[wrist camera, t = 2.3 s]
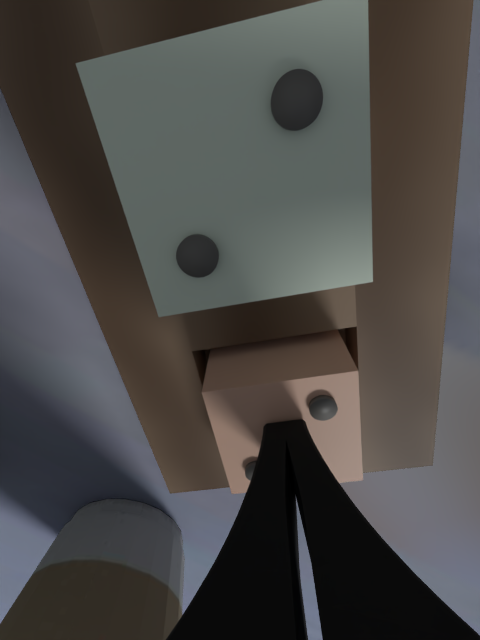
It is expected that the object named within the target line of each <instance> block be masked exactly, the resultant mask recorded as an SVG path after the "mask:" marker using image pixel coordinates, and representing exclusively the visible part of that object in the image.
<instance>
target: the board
mask: <svg viewBox="0 0 480 640" xmlns="http://www.w3.org/2000/svg"><path fill="white" fill-rule="evenodd" d="M317 1H321V0H0V88H1V91H2V93H3V95H4V98H5V100H6V103H7V105H8V107H9V110H10V112H11V115H12V117H13V119H14V122H15V124H16V126H17V129H18V131H19V134H20V136H21V138H22V141H23V143H24V146H25V148H26V150H27V153H28V155H29V158H30V160H31V162H32V165H33V167H34V169H35V172H36V174H37V177H38V179H39V181H40V184H41V186H42V189H43V191H44V193H45V196H46V198H47V201H48V203H49V205H50V208H51V210H52V212H53V215H54V217H55V220H56V222H57V224H58V227H59V229H60V232H61V234H62V236H63V239H64V241H65V244H66V246H67V248H68V251H69V253H70V255H71V258H72V260H73V263H74V265H75V267H76V270H77V272H78V275H79V277H80V279H81V282H82V284H83V286H84V289H85V291H86V294H87V296H88V298H89V301H90V303H91V306H92V308H93V310H94V313H95V315H96V318H97V320H98V322H99V325H100V327H101V329H102V332H103V334H104V337H105V339H106V341H107V344H108V346H109V349H110V351H111V353H112V356H113V358H114V361H115V363H116V365H117V368H118V370H119V372H120V375H121V377H122V380H123V382H124V384H125V387H126V389H127V392H128V394H129V396H130V399H131V401H132V404H133V406H134V408H135V411H136V413H137V415H138V418H139V420H140V423H141V425H142V427H143V430H144V432H145V435H146V437H147V439H148V442H149V444H150V447H151V449H152V451H153V454H154V456H155V458H156V461H157V463H158V466H159V468H160V470H161V473H162V475H163V478H164V480H165V482H166V485H167V487H168V490H169V492H170V493H179V492H188V491H198V490H207V489H217V488H226V487H230V486H229V482H228V479H227V476H226V472H225V469H224V466H223V462H222V459H221V456H220V452H219V449H218V446H217V442H216V439H215V436H214V432H213V429H212V426H211V422H210V419H209V416H208V412H207V409H206V406H205V402H204V399H203V395H202V388H203V383H204V378H205V373H206V368H207V363H208V358H209V354H210V349H211V348H218V347H224V346H231V345H238V344H244V343H251V342H257V341H264V340H270V339H277V338H284V337H290V336H297V335H303V334H310V333H317V332H323V331H330V330H336V329H337V330H338V332H339V334H340V336H341V338H342V339H343V341H344V343H345V345H346V347H347V349H348V351H349V353H350V355H351V357H352V359H353V361H354V363H355V365H356V367H357V369H358V373H359V397H360V421H361V444H362V468H363V473H367V472H376V471H386V470H394V469H405V468H413V467H423V466H432V465H433V456H434V445H435V434H436V422H437V411H438V399H439V388H440V376H441V365H442V354H443V342H444V331H445V319H446V308H447V296H448V285H449V273H450V262H451V250H452V239H453V228H454V216H455V205H456V193H457V182H458V170H459V159H460V147H461V136H462V124H463V113H464V102H465V90H466V79H467V67H468V56H469V44H470V33H471V21H472V10H473V0H368V24H369V82H370V140H371V198H372V256H373V282H369V283H363V284H357V285H351V286H345V287H339V288H333V289H327V290H321V291H315V292H309V293H303V294H297V295H291V296H284V297H278V298H272V299H266V300H260V301H254V302H248V303H242V304H236V305H230V306H224V307H218V308H212V309H206V310H200V311H193V312H187V313H181V314H175V315H169V316H163V317H159V316H158V313H157V310H156V307H155V304H154V301H153V298H152V295H151V292H150V289H149V286H148V283H147V280H146V277H145V274H144V271H143V268H142V265H141V262H140V259H139V255H138V252H137V249H136V246H135V243H134V240H133V237H132V234H131V231H130V228H129V225H128V222H127V219H126V216H125V213H124V210H123V207H122V204H121V201H120V198H119V195H118V192H117V188H116V185H115V182H114V179H113V176H112V173H111V170H110V167H109V164H108V161H107V158H106V155H105V152H104V149H103V146H102V143H101V140H100V137H99V134H98V131H97V128H96V124H95V121H94V118H93V115H92V112H91V109H90V106H89V103H88V100H87V97H86V94H85V91H84V88H83V85H82V82H81V79H80V76H79V73H78V70H77V67H76V64H75V63H79V62H83V61H86V60H90V59H94V58H98V57H102V56H106V55H110V54H114V53H118V52H122V51H126V50H130V49H133V48H137V47H141V46H145V45H149V44H153V43H157V42H161V41H165V40H169V39H173V38H177V37H180V36H184V35H188V34H192V33H196V32H200V31H204V30H208V29H212V28H216V27H220V26H223V25H227V24H231V23H235V22H239V21H243V20H247V19H251V18H255V17H259V16H263V15H267V14H270V13H274V12H278V11H282V10H286V9H290V8H294V7H298V6H302V5H306V4H310V3H314V2H317Z"/></svg>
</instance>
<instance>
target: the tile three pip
mask: <svg viewBox="0 0 480 640" xmlns="http://www.w3.org/2000/svg"><path fill="white" fill-rule="evenodd" d="M202 395H203V399H204V402H205V406H206V409H207V412H208V416H209V419H210V422H211V426H212V429H213V432H214V436H215V439H216V442H217V446H218V449H219V452H220V456H221V459H222V462H223V466H224V469H225V472H226V476H227V479H228V482H229V486H230V489H231V493H232V494H237V493H246V492H247V489H248V487H249V484H250V481H251V478H252V475H253V472H254V468H255V465H256V462H257V458H258V454H259V450H260V446H261V441H262V436H263V427H264V426H265V424H267V423H275V422H283V421H291V420H299V419H302V420H304V421H305V422H306V425H307V428H308V430H309V433H310V435H311V437H312V439H313V441H314V443H315V445H316V447H317V449H318V450H319V452H320V454H321V456H322V457H323V459H324V461H325V462H326V464H327V465H328V467H329V469H330V470H331V472H332V473H333V475H334V476H335V478H336V479H337V481H338V482H339V483H343V482H352V481H362V480H363V468H362V444H361V421H360V397H359V373H358V369H357V367H356V365H355V363H354V361H353V359H352V357H351V355H350V353H349V351H348V349H347V347H346V345H345V343H344V341H343V339H342V338H341V336H340V334H339V332H338V330H337V329H336V330H330V331H323V332H317V333H310V334H303V335H297V336H290V337H284V338H277V339H270V340H264V341H257V342H251V343H244V344H238V345H231V346H224V347H218V348H211V349H210V354H209V358H208V363H207V368H206V373H205V378H204V383H203V388H202Z"/></svg>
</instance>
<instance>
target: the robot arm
mask: <svg viewBox="0 0 480 640" xmlns="http://www.w3.org/2000/svg"><path fill="white" fill-rule="evenodd" d="M296 498H297V502H298V507H299V511H300V515H301V520H302V524H303V528H304V533H305V537H306V541H307V546H308V550H309V554H310V559H311V563H312V570H313V576H314V583H315V590H316V596H317V603H318V610H319V616H320V623H321V630H322V637H323V640H480V636H479V635H478V633H477V632H475V631H474V630H473V629H472V628H471V627H470V626H469V625H468V624H467V623H466V622H465V621H463V620H462V619H461V618H460V617H459V616H458V615H457V614H456V613H455V612H454V611H453V610H452V609H451V608H449V607H448V606H447V605H446V604H445V603H444V602H443V601H442V600H441V599H440V598H439V597H438V596H437V595H436V594H435V593H434V592H433V591H432V590H431V589H430V588H429V587H428V586H427V585H426V584H425V583H424V582H423V581H422V580H421V579H420V578H419V577H418V576H417V575H416V574H415V573H414V572H413V571H412V570H411V569H410V568H409V567H408V566H407V565H406V564H405V563H404V561H403V560H402V559H401V558H400V557H399V556H398V555H397V554H396V553H395V552H394V551H393V550H392V549H391V548H390V546H389V545H388V544H387V543H386V542H385V541H384V540H383V539H382V538H381V536H380V535H379V534H378V533H377V532H376V530H375V529H374V528H373V527H372V526H371V525H370V523H369V522H368V521H367V520H366V518H365V517H364V516H363V515H362V513H361V512H360V511H359V510H358V508H357V507H356V506H355V505H354V503H353V502H352V501H351V499H350V498H349V497H348V495H347V494H346V492H345V491H344V490H343V488H342V487H341V485H340V484H339V482H338V481H337V479H336V478H335V476H334V475H333V473H332V472H331V470H330V469H329V467H328V465H327V464H326V462H325V461H324V459H323V457H322V456H321V454H320V452H319V450H318V449H317V447H316V445H315V443H314V441H313V439H312V437H311V435H310V433H309V430H308V428H307V425H306V422H305V421H304V420H302V419H299V420H291V421H283V422H275V423H267V424H265V426H264V427H263V436H262V441H261V446H260V450H259V454H258V458H257V462H256V465H255V468H254V472H253V475H252V478H251V481H250V484H249V487H248V489H247V492H246V495H245V497H244V500H243V503H242V505H241V508H240V510H239V513H238V515H237V517H236V520H235V522H234V524H233V526H232V528H231V530H230V533H229V535H228V537H227V539H226V541H225V543H224V545H223V547H222V549H221V551H220V553H219V555H218V557H217V558H216V560H215V562H214V564H213V566H212V568H211V569H210V571H209V573H208V575H207V576H206V578H205V580H204V581H203V583H202V585H201V586H200V588H199V590H198V591H197V593H196V595H195V596H194V598H193V600H192V601H191V603H190V604H189V606H188V608H187V609H186V611H185V612H184V614H183V615H182V617H181V618H180V620H179V621H178V623H177V624H176V625H175V627H174V628H173V630H172V631H171V633H170V634H169V636H168V637H167V639H166V640H308V636H307V628H306V621H305V613H304V605H303V597H302V589H301V580H300V569H299V551H298V531H297V512H296Z"/></svg>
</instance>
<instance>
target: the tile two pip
mask: <svg viewBox="0 0 480 640" xmlns="http://www.w3.org/2000/svg"><path fill="white" fill-rule="evenodd" d="M75 64H76V67H77V70H78V73H79V76H80V79H81V82H82V85H83V88H84V91H85V94H86V97H87V100H88V103H89V106H90V109H91V112H92V115H93V118H94V121H95V124H96V128H97V131H98V134H99V137H100V140H101V143H102V146H103V149H104V152H105V155H106V158H107V161H108V164H109V167H110V170H111V173H112V176H113V179H114V182H115V185H116V188H117V192H118V195H119V198H120V201H121V204H122V207H123V210H124V213H125V216H126V219H127V222H128V225H129V228H130V231H131V234H132V237H133V240H134V243H135V246H136V249H137V252H138V255H139V259H140V262H141V265H142V268H143V271H144V274H145V277H146V280H147V283H148V286H149V289H150V292H151V295H152V298H153V301H154V304H155V307H156V310H157V313H158V316H159V317H163V316H169V315H175V314H181V313H187V312H193V311H200V310H206V309H212V308H218V307H224V306H230V305H236V304H242V303H248V302H254V301H260V300H266V299H272V298H278V297H284V296H291V295H297V294H303V293H309V292H315V291H321V290H327V289H333V288H339V287H345V286H351V285H357V284H363V283H369V282H373V256H372V198H371V140H370V82H369V24H368V0H321V1H317V2H314V3H310V4H306V5H302V6H298V7H294V8H290V9H286V10H282V11H278V12H274V13H270V14H267V15H263V16H259V17H255V18H251V19H247V20H243V21H239V22H235V23H231V24H227V25H223V26H220V27H216V28H212V29H208V30H204V31H200V32H196V33H192V34H188V35H184V36H180V37H177V38H173V39H169V40H165V41H161V42H157V43H153V44H149V45H145V46H141V47H137V48H133V49H130V50H126V51H122V52H118V53H114V54H110V55H106V56H102V57H98V58H94V59H90V60H86V61H83V62H79V63H75Z"/></svg>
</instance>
